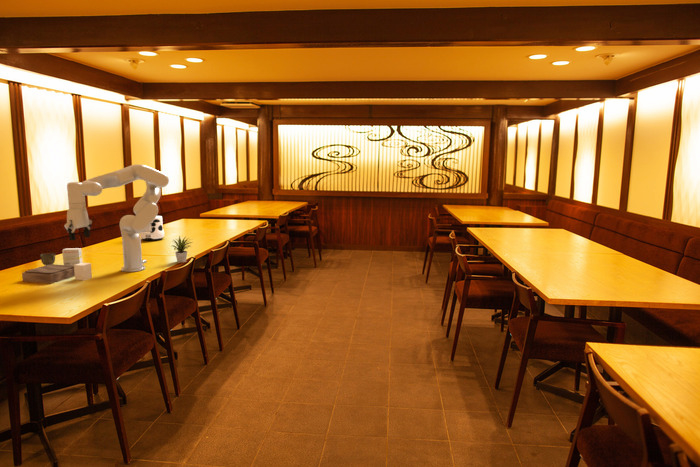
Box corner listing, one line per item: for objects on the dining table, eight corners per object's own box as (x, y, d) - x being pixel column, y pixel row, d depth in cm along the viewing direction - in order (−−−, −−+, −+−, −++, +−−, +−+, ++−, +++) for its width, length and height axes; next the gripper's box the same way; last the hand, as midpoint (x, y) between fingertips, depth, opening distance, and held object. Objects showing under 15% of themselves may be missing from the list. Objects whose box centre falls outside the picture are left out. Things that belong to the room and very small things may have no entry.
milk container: (160, 236, 368) (159, 214, 365) (167, 240, 355) (166, 217, 352) (137, 239, 357) (136, 216, 354) (144, 242, 344) (143, 219, 341)
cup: (43, 266, 268) (41, 253, 266) (57, 265, 270) (56, 252, 269) (39, 269, 261) (38, 255, 259) (54, 268, 263) (53, 254, 262)
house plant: (185, 265, 274) (183, 238, 272) (164, 264, 277) (163, 237, 274) (197, 260, 288) (196, 234, 285) (177, 259, 291) (176, 233, 288)
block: (83, 277, 246) (81, 262, 244) (91, 277, 244) (90, 263, 243) (75, 279, 240) (73, 265, 239) (84, 280, 239) (82, 265, 238)
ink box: (83, 267, 266) (81, 247, 265) (80, 269, 262) (78, 249, 260) (67, 267, 265) (65, 248, 263) (63, 269, 260) (61, 249, 258)
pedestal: (51, 272, 253) (51, 263, 253) (79, 274, 250) (78, 265, 249) (22, 281, 236) (21, 271, 235) (52, 283, 232) (51, 273, 232)
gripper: (83, 204, 245) (86, 235, 248) (57, 207, 228) (60, 241, 231) (95, 204, 243) (98, 236, 246) (70, 208, 227) (72, 241, 230)
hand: (79, 238), depth 239 cm, fingers open, 9 cm apart
